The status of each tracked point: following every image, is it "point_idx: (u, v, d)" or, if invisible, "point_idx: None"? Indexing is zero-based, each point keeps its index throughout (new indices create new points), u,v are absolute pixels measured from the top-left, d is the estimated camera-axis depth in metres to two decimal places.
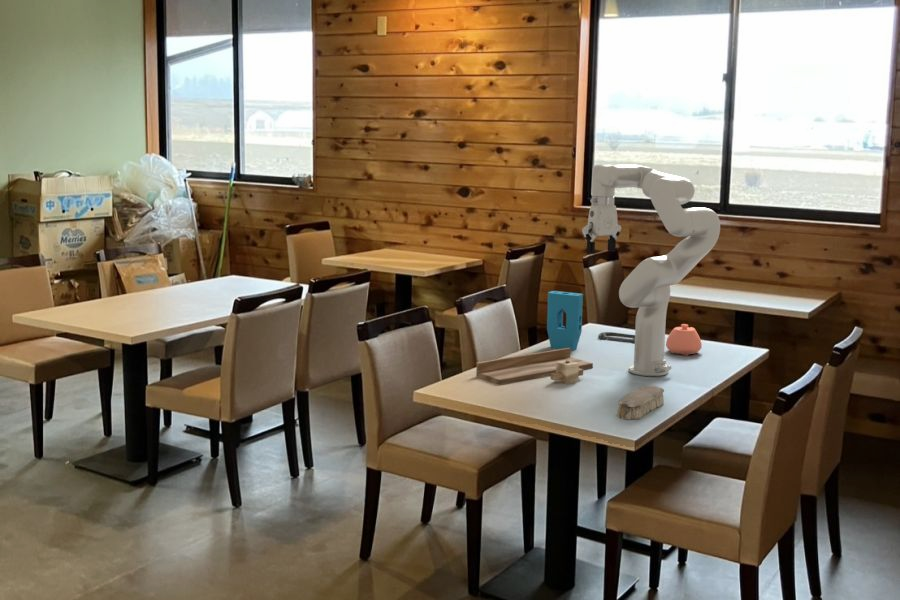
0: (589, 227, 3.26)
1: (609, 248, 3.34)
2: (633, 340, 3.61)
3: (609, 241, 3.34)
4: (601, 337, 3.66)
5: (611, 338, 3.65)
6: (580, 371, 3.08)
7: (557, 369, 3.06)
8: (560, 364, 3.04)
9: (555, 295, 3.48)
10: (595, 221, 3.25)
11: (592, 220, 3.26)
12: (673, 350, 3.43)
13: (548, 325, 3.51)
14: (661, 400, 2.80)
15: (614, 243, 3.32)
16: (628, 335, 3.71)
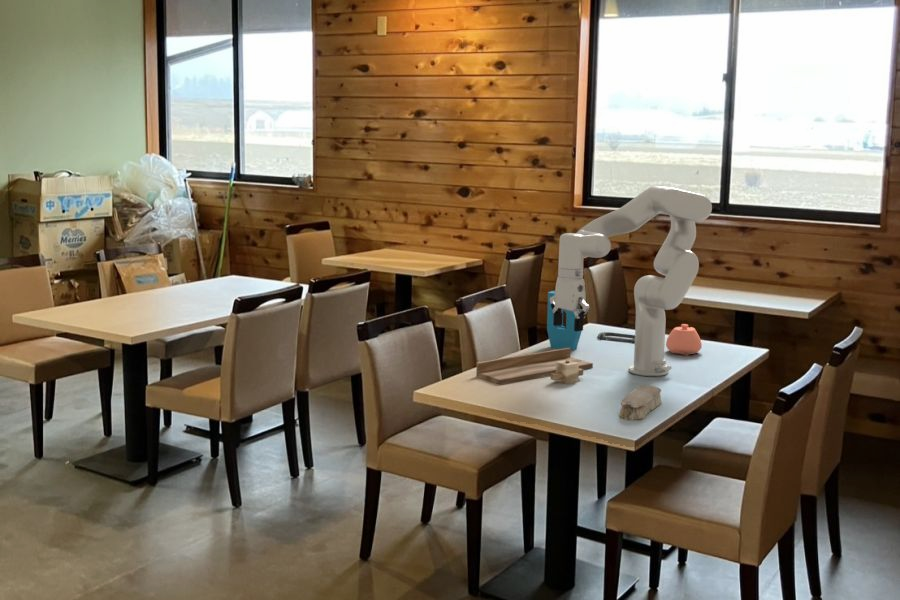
0: None
1: (557, 322, 3.07)
2: (633, 340, 3.61)
3: (557, 315, 3.06)
4: (600, 337, 3.66)
5: (610, 338, 3.65)
6: (580, 371, 3.08)
7: (557, 369, 3.06)
8: (560, 364, 3.04)
9: None
10: (584, 295, 2.99)
11: (581, 295, 2.98)
12: (673, 350, 3.43)
13: (548, 325, 3.51)
14: (659, 399, 2.81)
15: None
16: (627, 335, 3.71)
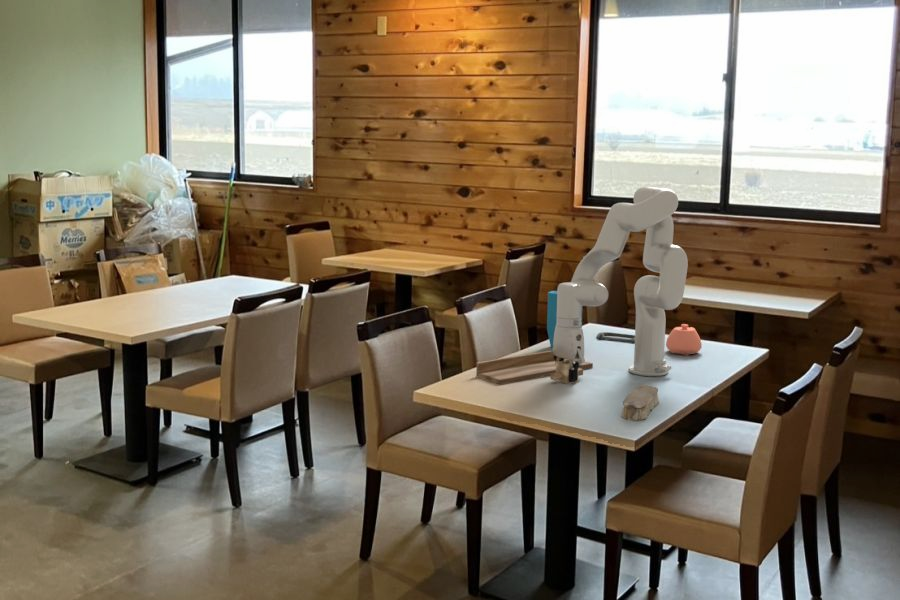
0: None
1: None
2: (632, 340, 3.61)
3: None
4: (600, 337, 3.66)
5: (610, 338, 3.65)
6: (580, 371, 3.08)
7: (557, 369, 3.06)
8: (560, 364, 3.04)
9: (555, 295, 3.48)
10: (583, 344, 3.01)
11: (580, 344, 3.00)
12: (673, 350, 3.43)
13: (548, 325, 3.51)
14: (657, 399, 2.81)
15: None
16: (626, 335, 3.71)
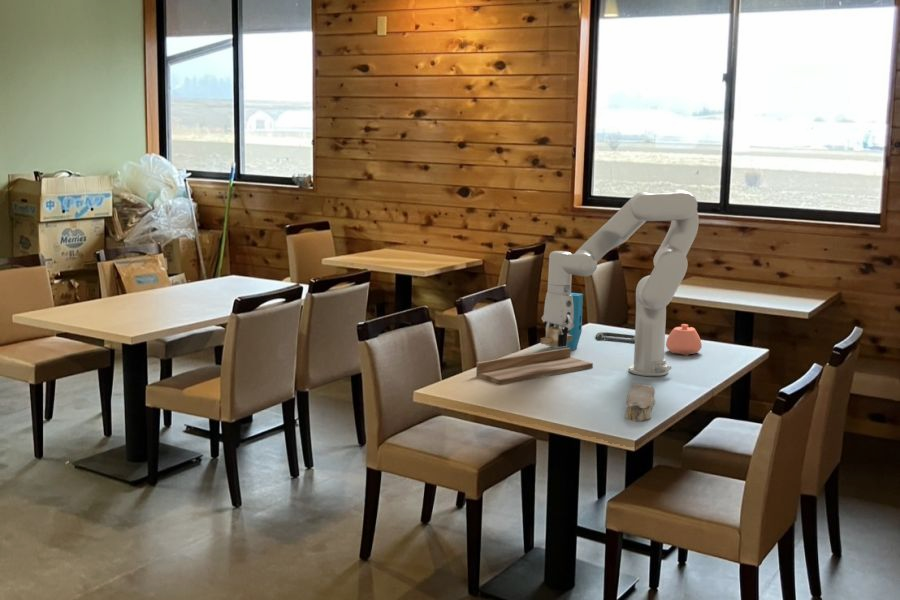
0: None
1: None
2: (632, 340, 3.61)
3: None
4: (599, 338, 3.65)
5: (609, 338, 3.65)
6: (569, 337, 3.21)
7: (547, 334, 3.18)
8: (550, 329, 3.17)
9: None
10: (572, 310, 3.14)
11: (569, 310, 3.13)
12: (673, 350, 3.43)
13: None
14: (654, 398, 2.82)
15: None
16: (625, 335, 3.71)
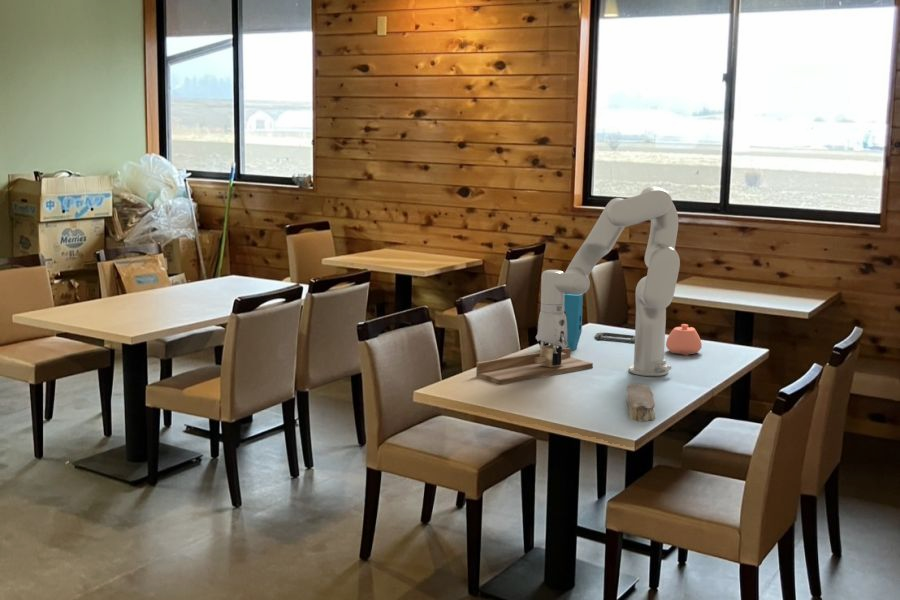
0: None
1: None
2: (631, 340, 3.61)
3: None
4: (599, 338, 3.65)
5: (609, 339, 3.65)
6: (563, 355, 3.20)
7: (541, 353, 3.18)
8: (544, 348, 3.16)
9: None
10: (566, 329, 3.13)
11: (563, 329, 3.13)
12: (673, 350, 3.43)
13: None
14: None
15: None
16: (624, 335, 3.71)
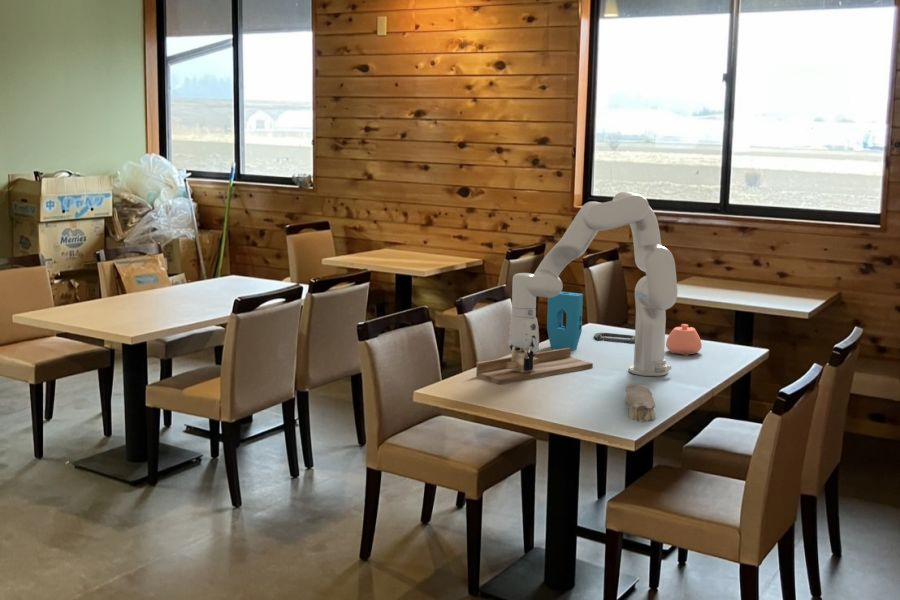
0: None
1: None
2: (631, 340, 3.61)
3: None
4: (598, 338, 3.65)
5: (608, 339, 3.64)
6: (535, 360, 3.13)
7: (513, 358, 3.11)
8: (515, 353, 3.10)
9: None
10: (538, 333, 3.07)
11: (534, 333, 3.06)
12: (673, 350, 3.43)
13: (548, 325, 3.51)
14: None
15: None
16: (623, 335, 3.70)
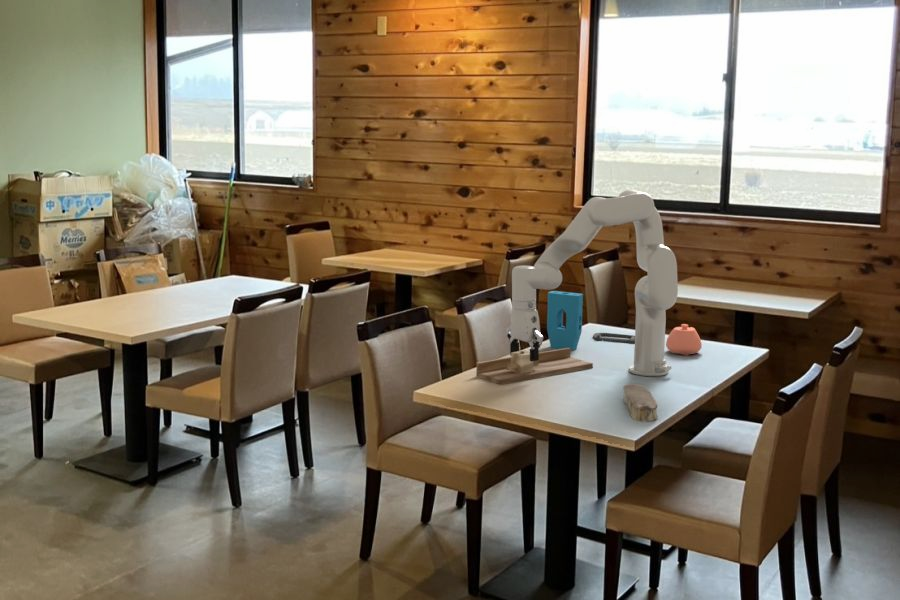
0: None
1: None
2: (631, 340, 3.61)
3: (513, 345, 3.14)
4: (597, 338, 3.64)
5: (607, 339, 3.64)
6: (535, 361, 3.13)
7: (512, 359, 3.11)
8: (515, 354, 3.10)
9: (555, 295, 3.48)
10: (538, 326, 3.06)
11: (535, 326, 3.05)
12: (673, 350, 3.43)
13: (548, 325, 3.51)
14: None
15: (518, 345, 3.15)
16: (622, 335, 3.70)
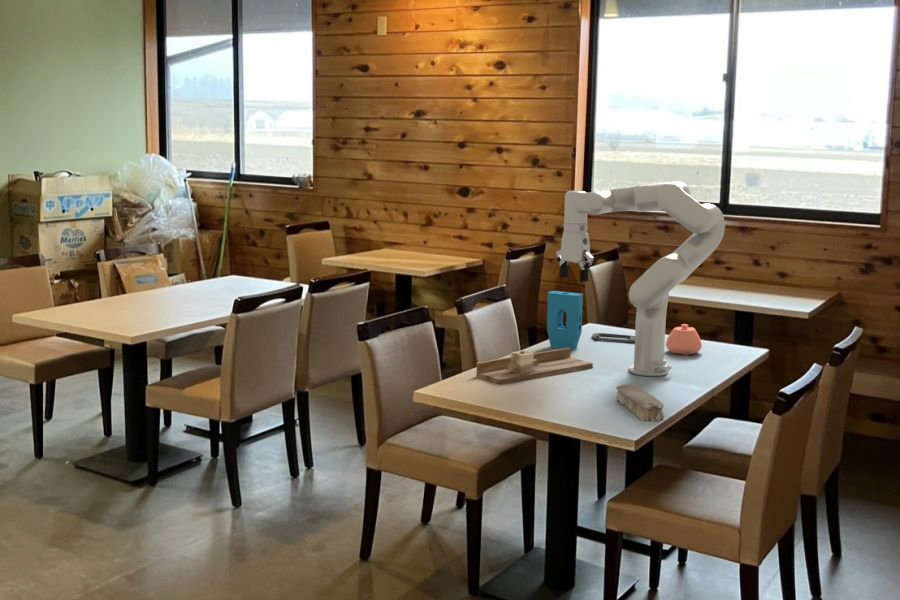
0: None
1: (563, 275, 3.29)
2: (630, 340, 3.60)
3: (563, 268, 3.29)
4: (597, 339, 3.64)
5: (607, 339, 3.63)
6: (535, 361, 3.13)
7: (512, 359, 3.11)
8: (515, 354, 3.10)
9: (555, 295, 3.48)
10: (589, 248, 3.21)
11: (586, 248, 3.21)
12: (673, 350, 3.43)
13: (548, 325, 3.51)
14: None
15: None
16: (620, 335, 3.70)
